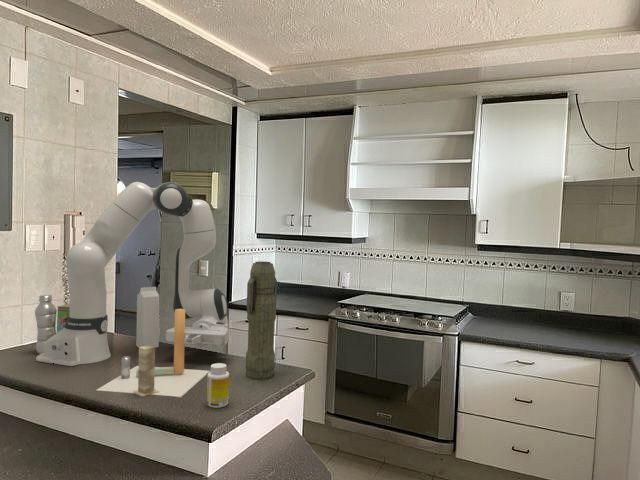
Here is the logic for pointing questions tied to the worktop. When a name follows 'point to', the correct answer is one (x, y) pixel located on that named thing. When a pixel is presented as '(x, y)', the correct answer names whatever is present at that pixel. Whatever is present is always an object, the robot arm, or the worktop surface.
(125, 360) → the post
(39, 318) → the plastic bottle
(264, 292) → the thermos
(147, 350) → the post
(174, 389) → the base board
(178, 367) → the orange upright dowel
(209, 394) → the supplement bottle
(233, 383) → the worktop surface
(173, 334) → the robot arm
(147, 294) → the milk
